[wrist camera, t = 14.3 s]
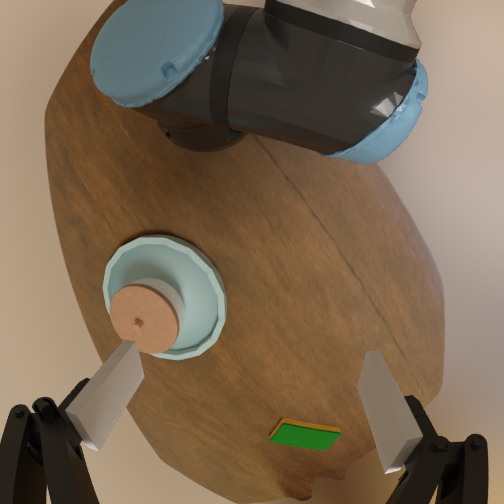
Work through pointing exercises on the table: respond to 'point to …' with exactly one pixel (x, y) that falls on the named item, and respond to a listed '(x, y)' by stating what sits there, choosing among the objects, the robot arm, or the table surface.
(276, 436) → the dish sponge
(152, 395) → the table surface
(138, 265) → the round tray
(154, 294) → the lidded jar
